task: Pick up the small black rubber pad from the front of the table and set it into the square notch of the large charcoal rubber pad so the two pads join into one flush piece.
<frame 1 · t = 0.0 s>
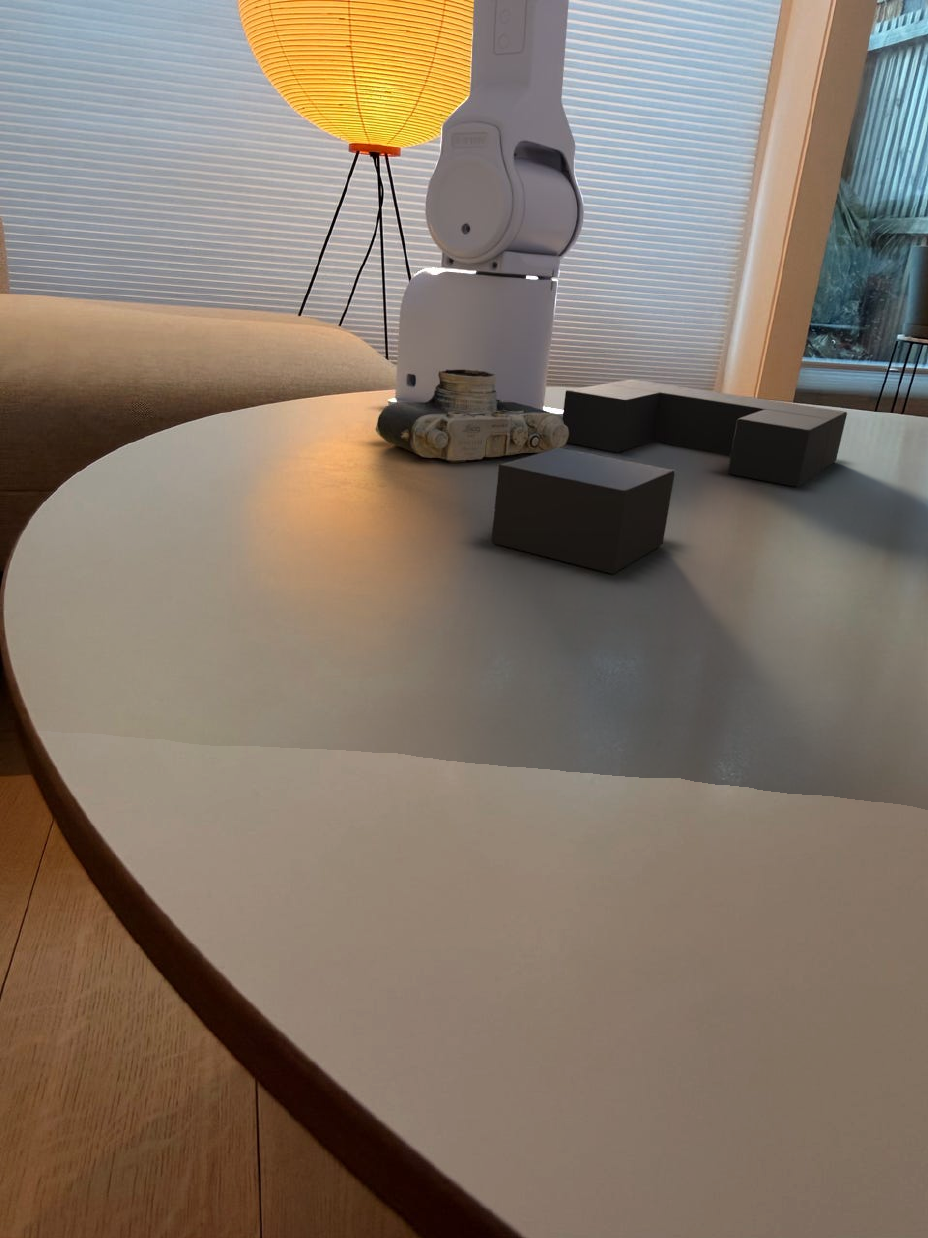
camera: (473, 452, 51), on the table
base pad: (699, 451, 56), on the table
pad piece: (578, 543, 36), on the table
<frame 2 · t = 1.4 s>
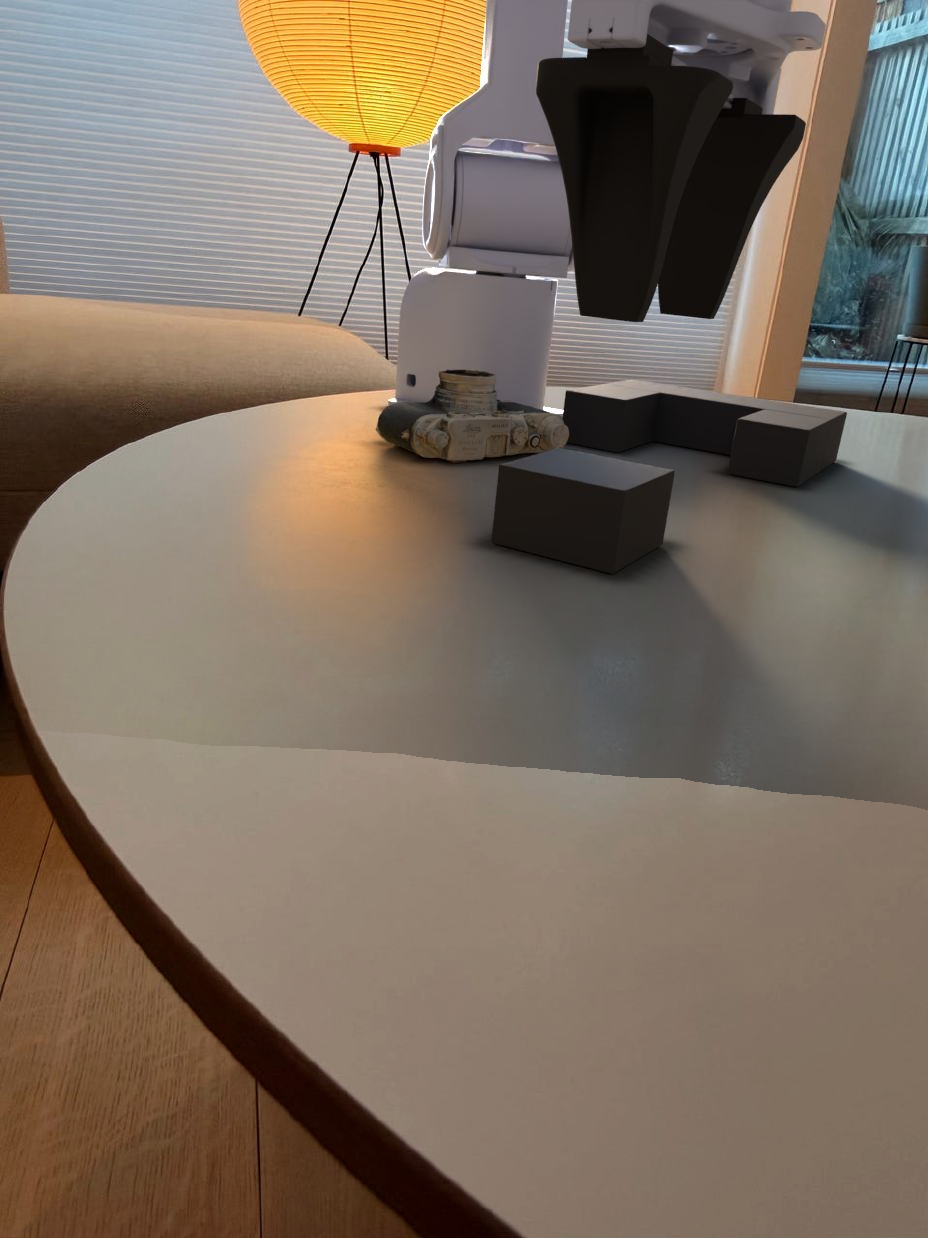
hand: (652, 317, 34), 8 cm above the table, tool pointing down, fingers open, 7 cm apart
nothing on the table moved.
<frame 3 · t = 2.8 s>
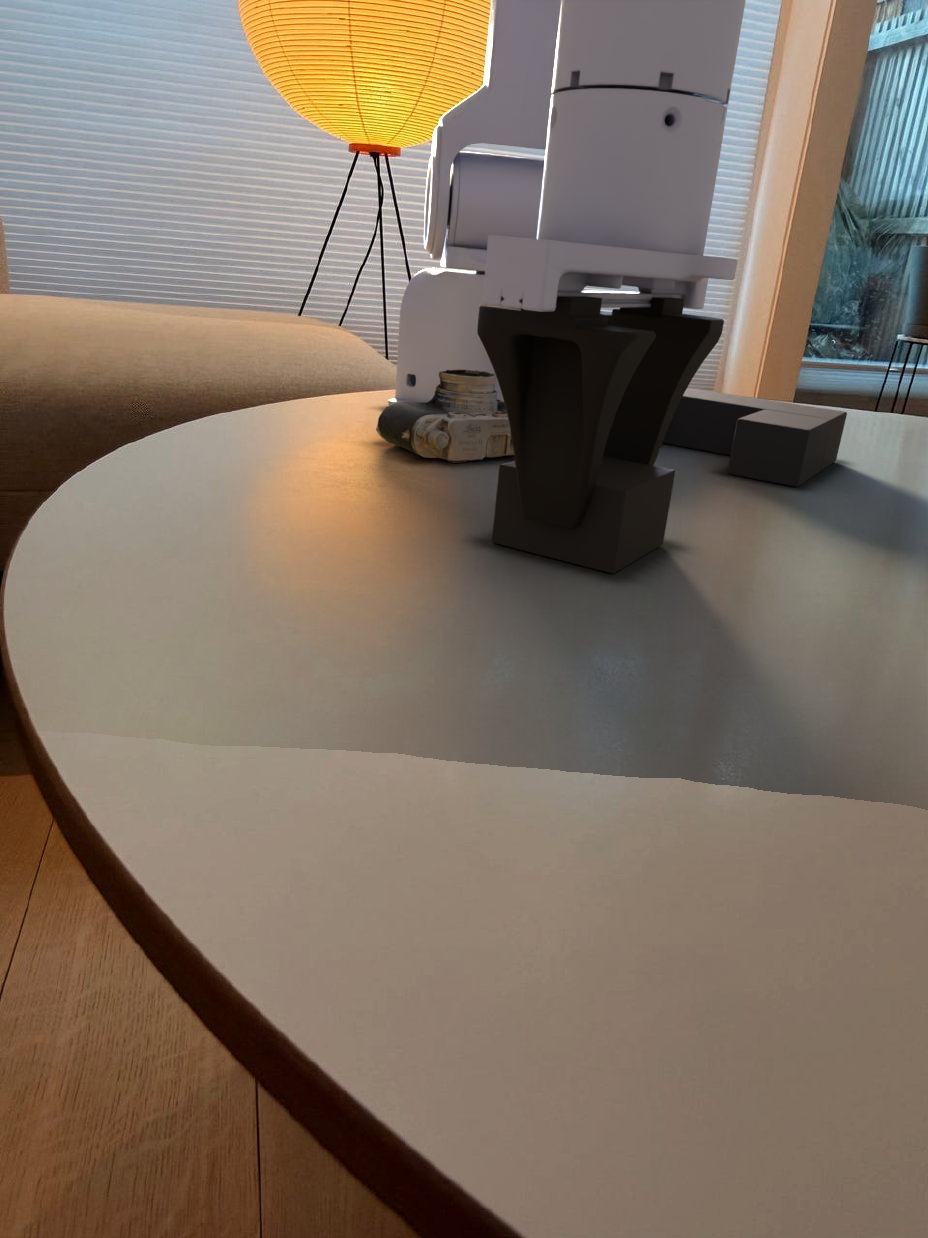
hand: (583, 508, 35), 1 cm above the table, tool pointing down, fingers closed on pad piece, 5 cm apart
pad piece: (579, 543, 36), on the table, touching gripper
everything else where it was.
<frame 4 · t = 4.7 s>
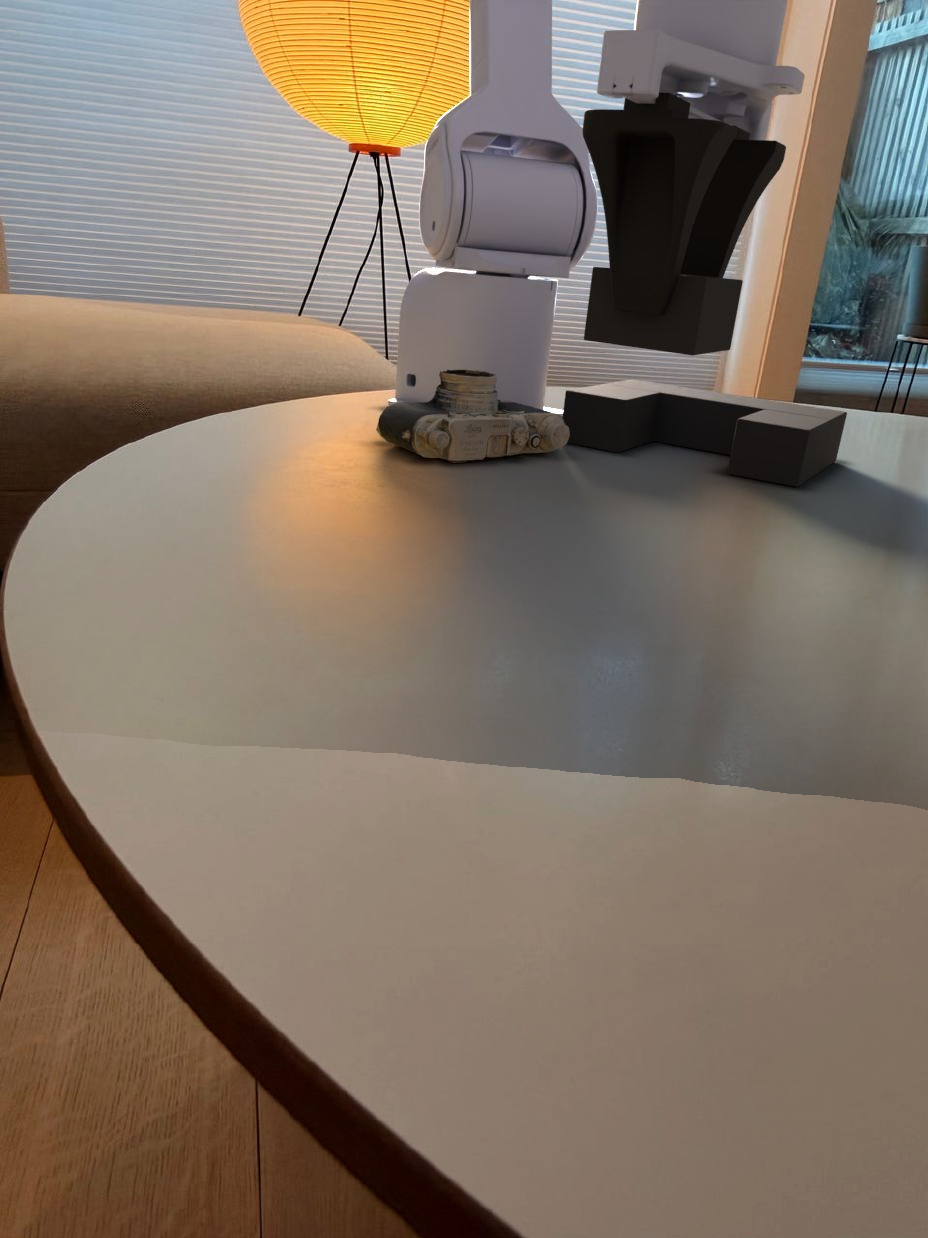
hand: (662, 312, 41), 8 cm above the table, tool pointing down, fingers closed on pad piece, 5 cm apart
pad piece: (658, 345, 41), point 7 cm above the table, touching gripper
everything else where it was.
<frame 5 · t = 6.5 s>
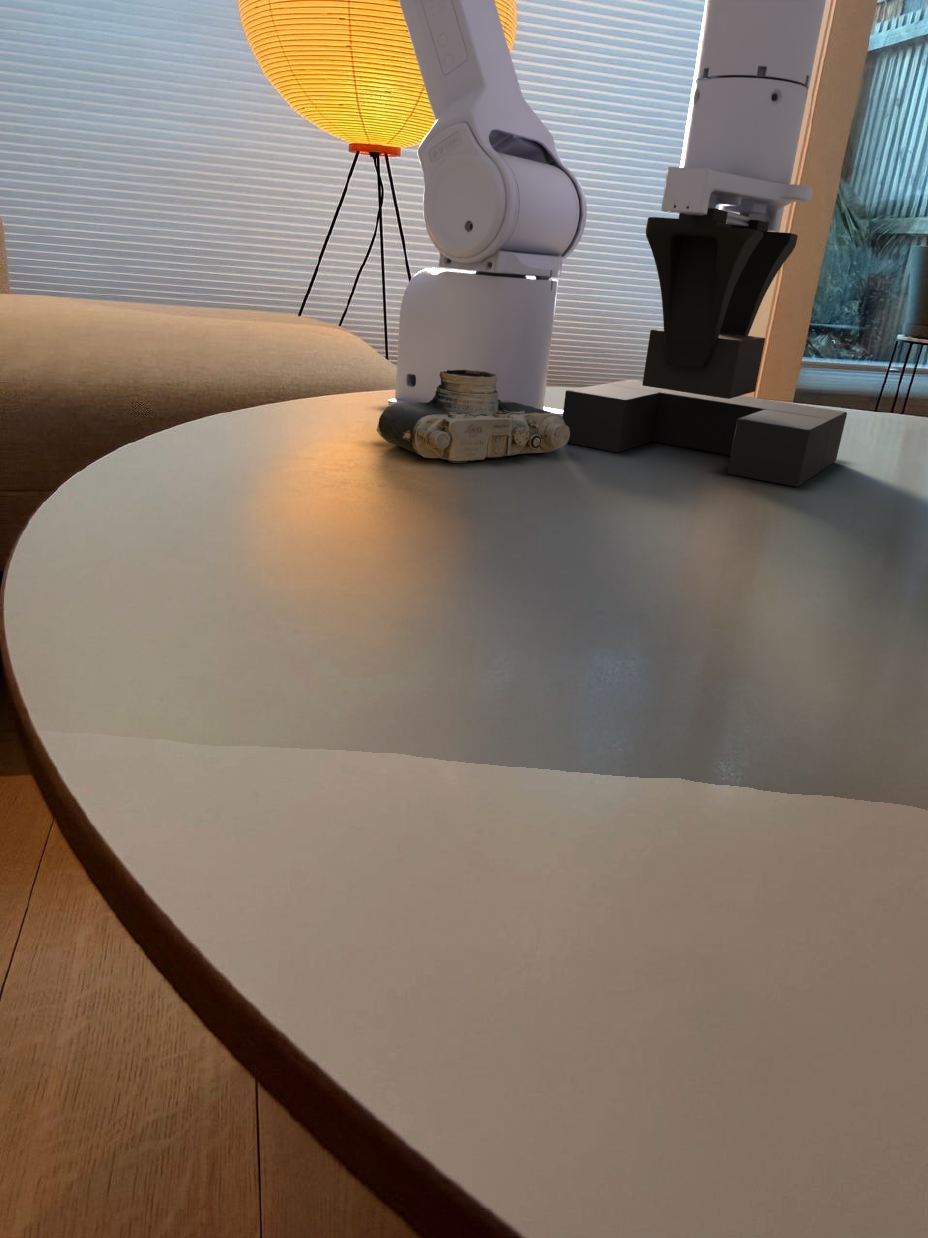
hand: (702, 363, 52), 5 cm above the table, tool pointing down, fingers closed on pad piece, 5 cm apart
pad piece: (699, 388, 53), point 4 cm above the table, touching gripper
everything else where it was.
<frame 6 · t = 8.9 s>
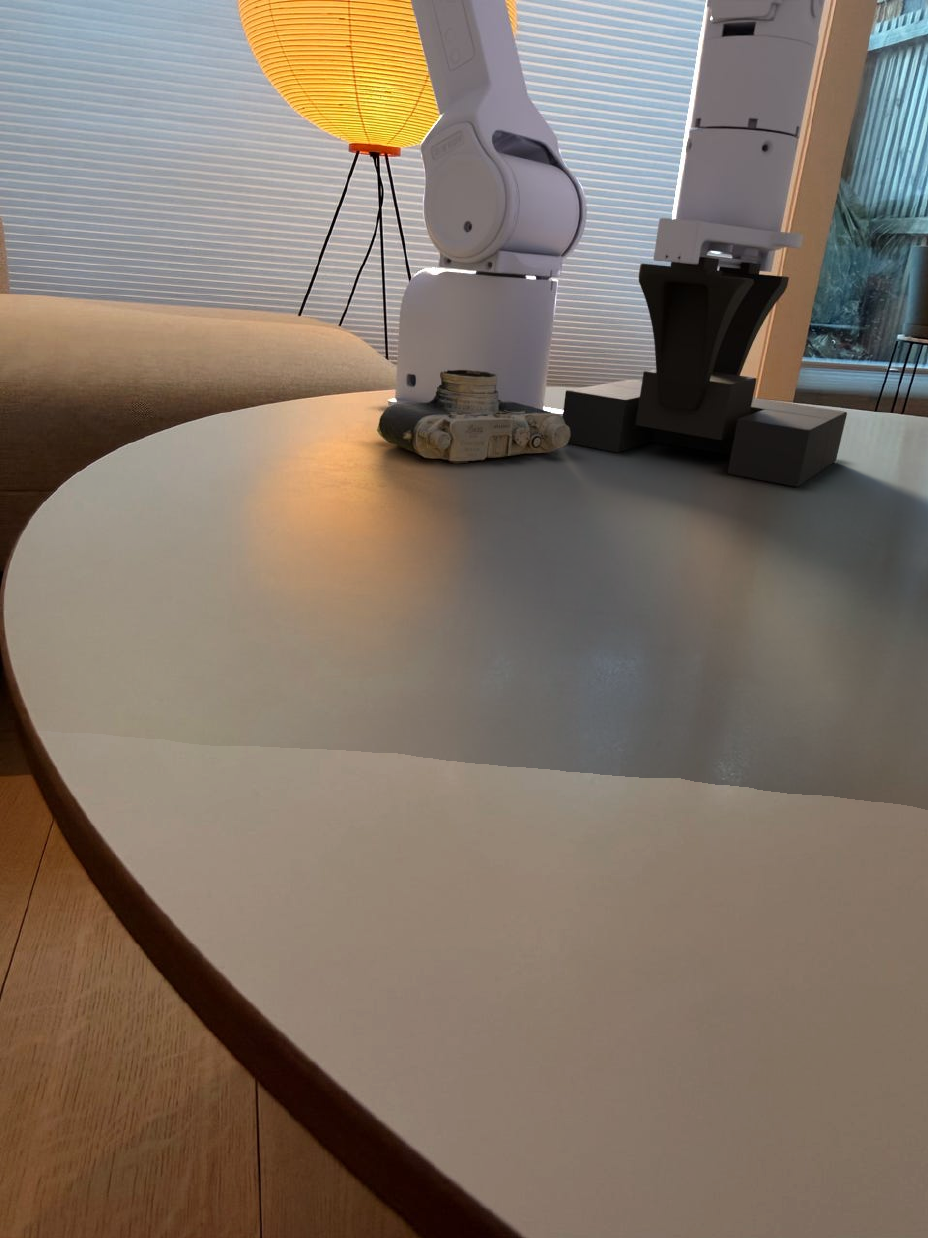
hand: (694, 403, 53), 3 cm above the table, tool pointing down, fingers closed on pad piece, 5 cm apart
pad piece: (691, 427, 54), point 2 cm above the table, touching gripper
everything else where it was.
when the fingers open (3 cm above the table, at t = 10.6 s): pad piece drops 2 cm, on the table.
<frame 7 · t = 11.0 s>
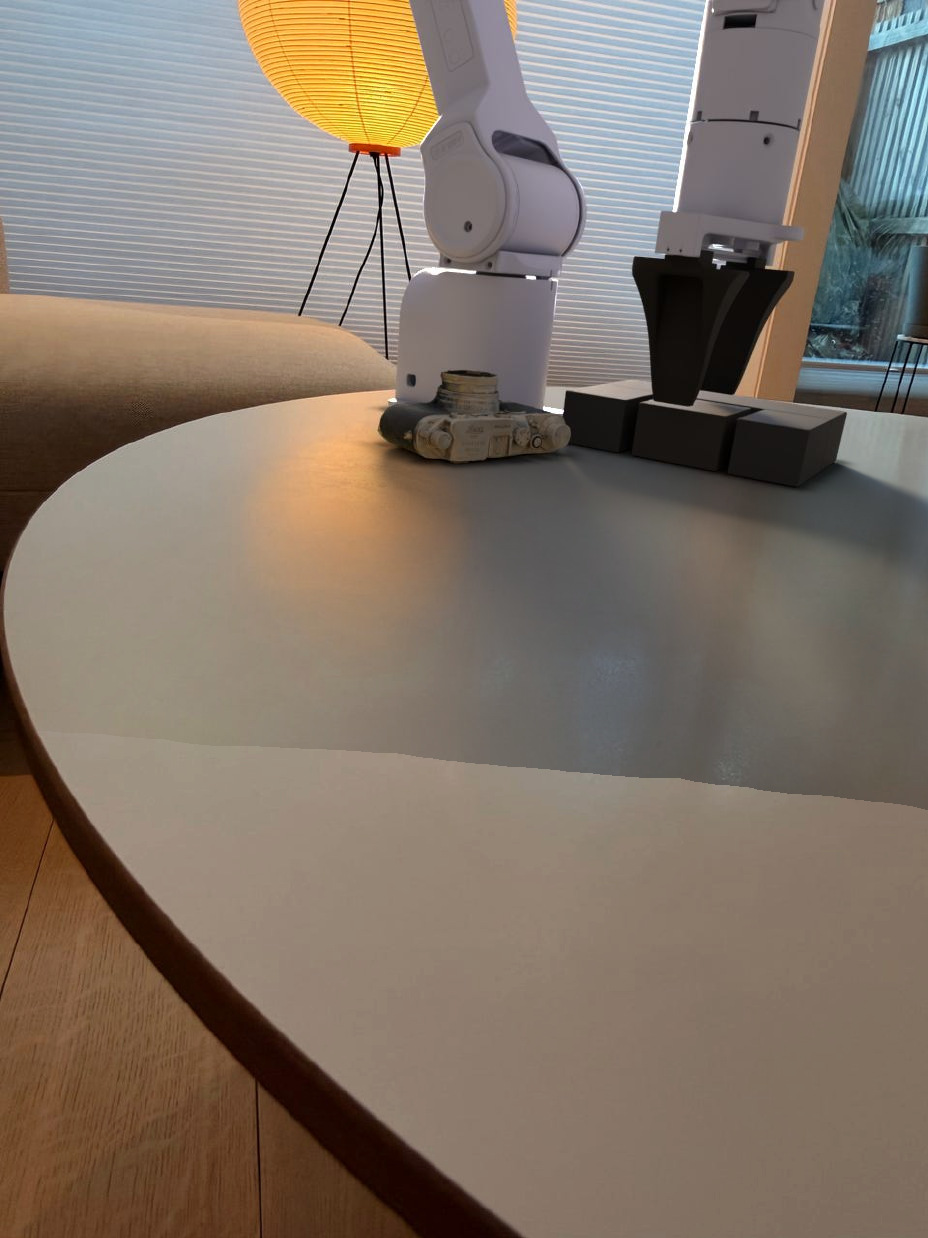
hand: (696, 397, 53), 3 cm above the table, tool pointing down, fingers open, 7 cm apart
pad piece: (687, 457, 54), on the table
everything else where it was.
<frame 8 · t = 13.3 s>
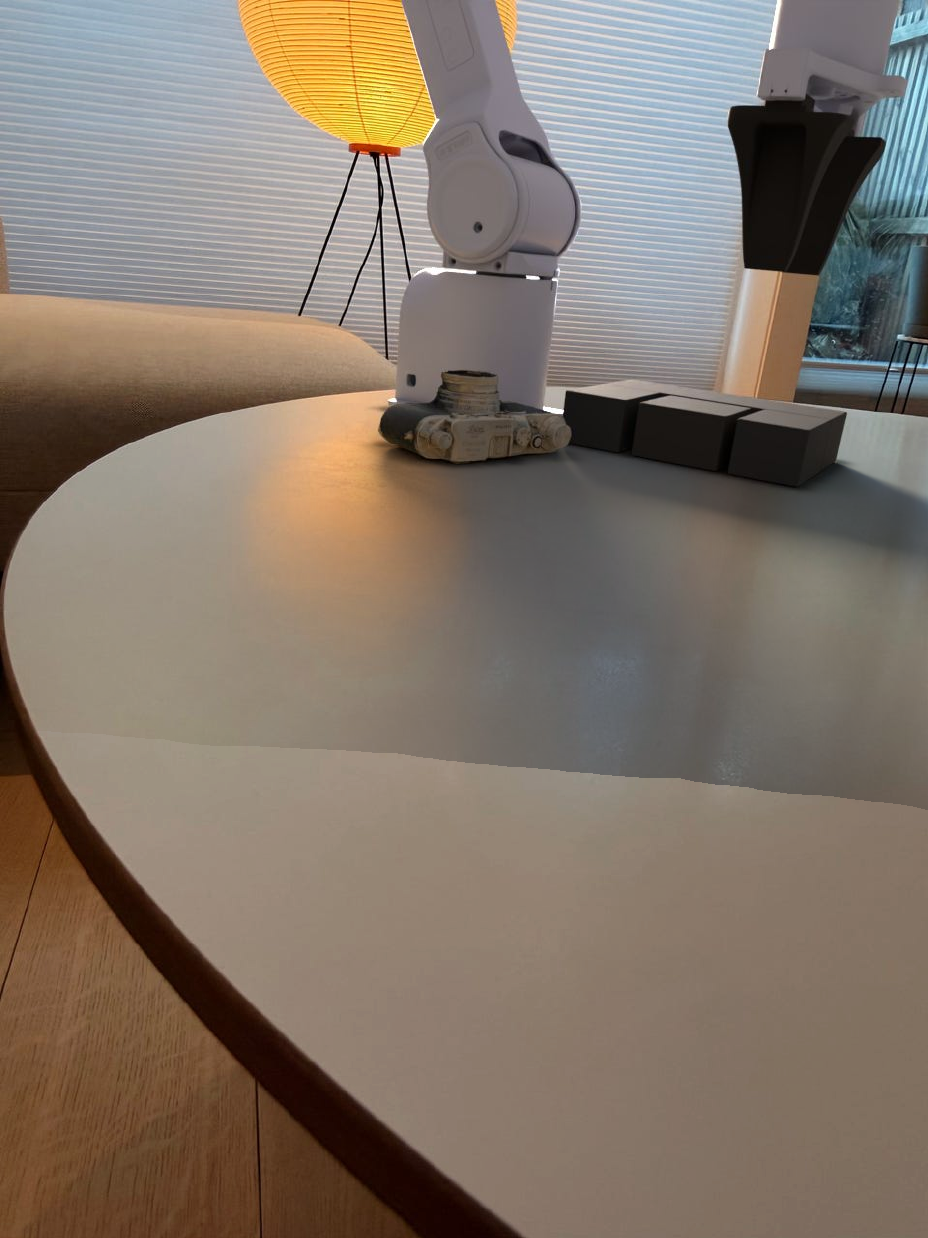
hand: (783, 272, 51), 10 cm above the table, tool pointing down, fingers open, 7 cm apart
nothing on the table moved.
at the end: pad piece 0.1 cm from the target spot on the base pad, point 0.0 cm above the base pad's base; pad piece tilted 0°; the gripper is holding nothing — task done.
